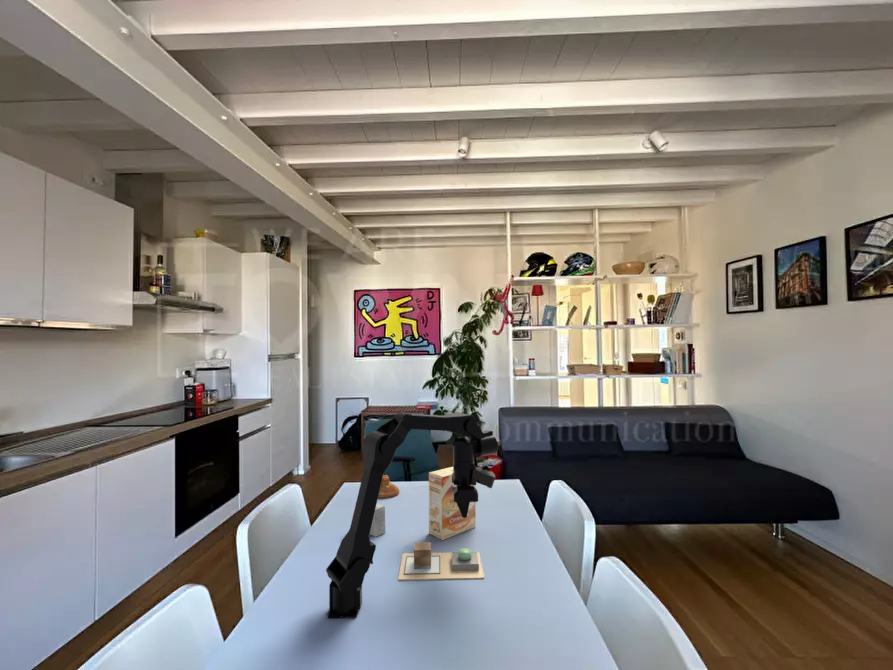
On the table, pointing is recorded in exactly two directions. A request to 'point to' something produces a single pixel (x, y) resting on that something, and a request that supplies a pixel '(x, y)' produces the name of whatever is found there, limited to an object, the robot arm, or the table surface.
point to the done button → (464, 554)
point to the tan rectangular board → (436, 569)
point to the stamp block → (422, 555)
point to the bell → (387, 489)
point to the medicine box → (378, 521)
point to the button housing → (465, 563)
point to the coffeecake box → (446, 507)
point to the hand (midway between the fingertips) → (464, 517)
